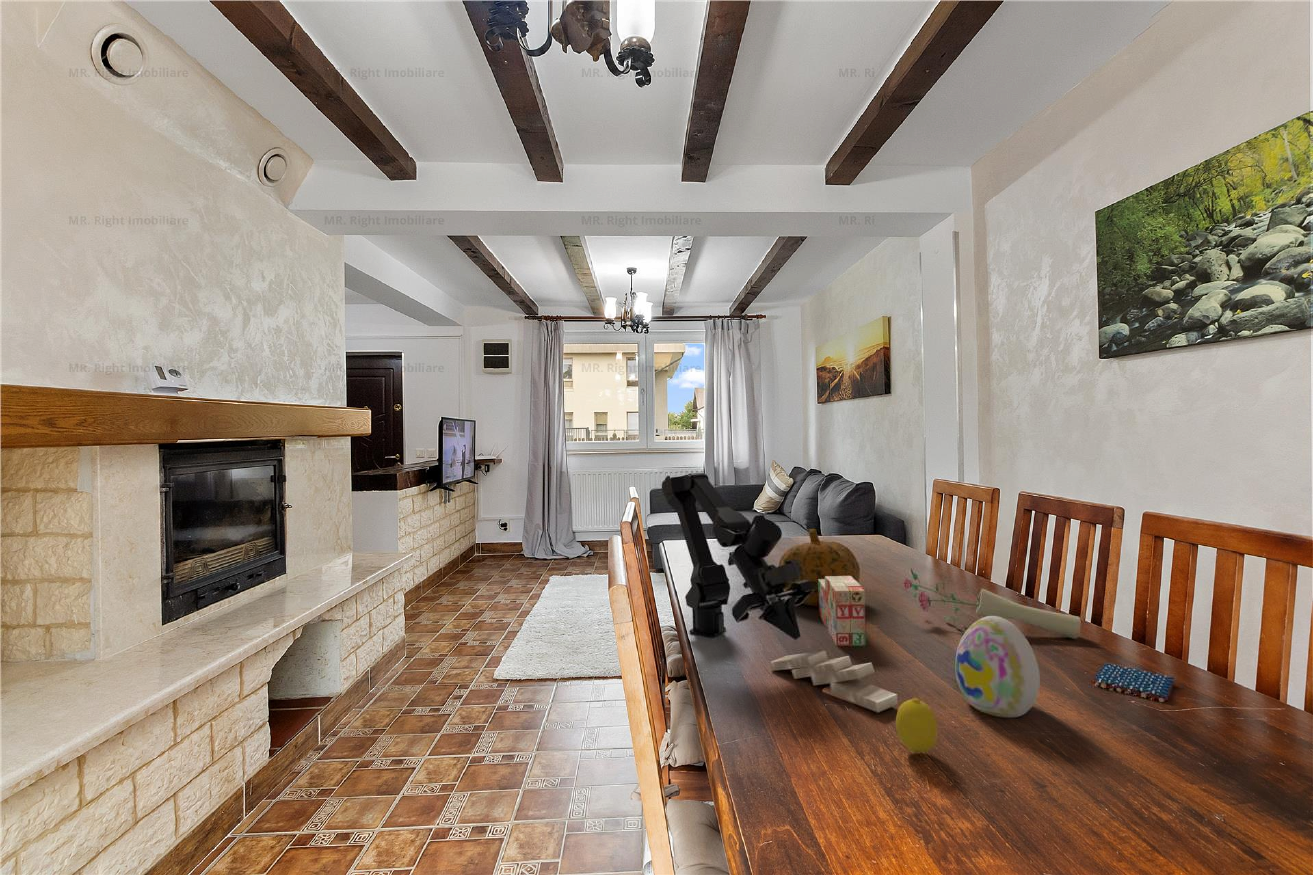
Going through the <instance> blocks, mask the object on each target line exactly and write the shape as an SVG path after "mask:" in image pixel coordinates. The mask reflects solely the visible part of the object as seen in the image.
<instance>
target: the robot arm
mask: <svg viewBox="0 0 1313 875" xmlns="http://www.w3.org/2000/svg"><path fill="white" fill-rule="evenodd" d="M661 491H662V494H663V495H664V497H665V499H666V500H665V501H666V502H667V504H668V505H669V507H671V508H672V509H673V510H674V511H675V512H676V513H677V517H678V520H679V523H680V527H681V530H682V534H683V537H684V540H685V544H686V547H687V550H688V555H689V557H690V560H691V563H692V567H693V568H692V572H691V576H690V585H691V587H690V588H689V590H688V592H686V594H685V596H684V598H685V603H686V606H687V607H689V608H691V609H692V610H691V612H692V613H691V614H692V628H691V629H689V633H690V634H693V635H694V634H695V635H699V636H704V637H709V638H714V637H716V636H718V635H719V634H720V633H722V632H725V631H726V630H727V627H726V626H725V616H724V615H725V614H724V611H723V606H724V605H725V606H727V605H728V602H729V597H730V594H731V593H730V592H731V583H730V579H729V577H728V575H727V571H726V568H725V566H724V565H723V564H718V563H717V562H716V561H714V559H713V556H712V553H711V552H712V551H711V549H710V546H709V543H708V540H707V536H706V533H705V530H704V527H703V524H702V521H701V517H700V514H699V512H698V511H699V510H698V508H697V502H698V504H699V505H700V507H701V508H702V510H704V512H705V514H706V515H707V516H708V517H709V519H710V520H711V522H712V533H713V535H714V537H715V539H716V541H717V543H718V544H719V545H720V546H721V547H722V548H731V547H735V549H734V550H733V551H730V552H729V553H728V555H729V556H728V558H727V566H730V567H731V566H734V565H735V566H736V568H737V569H738V571H739V572H740V574H741V576H742V577H743V580H744V582H743V583H742V586H743V587H744V589H750V591H751V593H746V594H743V595H742V596H741V597H740V598H738V600H737V602H736V603H735V604H734V605H733V607H731V615H732V617H733V618H734V620H735V622H736V623H741V622H744V621H748V619H749V616H750V613H749V612H753V611H756V610H759V611H760V613H761V614H760V616H759V617H758V619H759V620H760V621H765V622H766V623H768V624H770V625H771V626H774V628H776V629H779V630H780V631H781V632H783V633H784V634H786V635H787V636H789V637H790V638H792V639H793V640H795V641H796V640H799V639H800V637H801V633H800V628H799V624H798V621H797V616H796V611H795V610H796V609H795V607H796V606H800V605H801V603H803V602H804V601H805V600H806V599H807V598H808V597H809V596H810V594H811V593H812V592H813V591H814V590H815V588H814V586H813V585H812V583H811V582H810V581H809V580H802V581H798V582H794V583H793V584H792V585H791V586H790V587H789V588H788V590H787V591H785V590H784V588H786V587H787V586H788V585H789V583H788V582H789V581H791V580H794V579H800V575H799V574H801V573H802V572H803V569H802V566H801V564H800V563H799V562H798V561H797V559H796V558H795V559H791V560H789V561H786V562H785V565H782V566H779V565H778V566H776V565H775V564H770V565H769V564H768V563H767V560H766V559H765V558H766V557H768V556H769V555H770V553H771V552H772V551H773V550H774V548H775V547H776V545H777V544H778V543H779V541H780V540H781V538H782V536H783V533H782V532H783V531H782V529H781V527H780V526H779V525H778V524H777V523H775V522H774V521H772V520H770V519H768V518H766V517H765V515H764V514H758V515H754V517H753V519H752V521H750V520H749V519H748V518H747V517H746V516H744V514H742V513H741V512H739V511H736V510H734V509H732V508H731V507H730V506H729V505H728V503H727V502H726V501H725V500H724V498H723V497H722V496H721V495H720V493H719V492H718V491H717V489H716V488H715V487H714V485H713V484H712V483H711V481H710V480H709V476H708V474H706V473H705V472H691V473H689V472H688V473H687V474H676V475H674V474H673V475H667V476H665V478H664V480H662V482H661Z"/></svg>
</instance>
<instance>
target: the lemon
mask: <svg viewBox="0 0 1313 875" xmlns="http://www.w3.org/2000/svg"><path fill="white" fill-rule="evenodd" d="M895 730H896V733H897V737H898V739H899V740H900V742H901V743H902V744H903V745H904V746H905V747H906V748H908V749H909V750H911V751H912V752H913V753H914V754H916V755H920V754H921V753H924V752H927V751H929V750H931V749H932V748H933V747H934V746H935V744H936V742H937V738H938V731H939V729H938V722H937V719H936V715H935V713H934V711H933V709H932V708H931V707H930V706H929V705H928V704H927V703H926V702H924V701H922V700H920V699H919V698H916V697H913V698H911V699H908V700H906V701H904V702H903V703H901V704H900V706H899V707H898V709H897V713H896V718H895Z"/></svg>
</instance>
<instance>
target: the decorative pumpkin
mask: <svg viewBox="0 0 1313 875" xmlns="http://www.w3.org/2000/svg"><path fill="white" fill-rule="evenodd" d="M808 534H809V538H810V539H809V540H810V542H804V543H802V544H797V545H794V546H791V547H790V548H788V549H787V550H786V551H785V552H784V553H783V554H782V555H781V556H780V558H779V562H778V567H779V566H782V565H785V562H786V561H789V560H791V559H795V558H796V559H797V561H798V562H799V563H800V564H801V566H802V569H803V572H802V573H801V574H799V575H800V579H794V580H791V581H789V582H788V583H789V585H788V586H787V587H786V588H784V591H787V590H788V588H789V587H790V586H791V585H792V584H793V583H794V582H798V581H802V580H809V581H810V582H811V583H812V585H813V586H814V588H815V590H814V591H813V592H812V593H811V594H810V596H809V597H808V598H807V599H806V600H805V601H804V602H803V603H801V604H802V605H806V606H811V607H819V591H818V579H825V576H851V577H852V578H853V579H854V580H856V581H857V582H858V583H859V582H860V576H861V572H860V569H861V568H860V565H859V562H858V561H857V557H856V556H855V555H854V552H852V550H851V549H849V548H848V547H847V546H846V545H844V544H842V543H839V542H836V541H826V540H820V539H819V536H818V532H817V529H815V528H811V529H809V530H808ZM859 584H860V583H859ZM801 604H800V605H801Z"/></svg>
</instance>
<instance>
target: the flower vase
mask: <svg viewBox="0 0 1313 875" xmlns="http://www.w3.org/2000/svg"><path fill="white" fill-rule="evenodd" d="M910 572H911V575H912V578H913V580H914V581H917V580H918V583H919V584H921V582H920V581H921V580H920V579H919V577H918V574H916V573H914V571H913V569H912V567H910ZM919 584H913V582H912V580H911V579H909V578H908V577H906V578H905V579H904V581H903V585H902V586H903V588H905V590H906V591H908V590H909V589H910V590H911V589H913V590H914V591H915V592H914V595H913V598H916V597H917V595H918V602H919V603H920V604H919V606H920V607H921V609H922V610H924V612H925V613H927V612H929V610H930V608H931V609H933V608H932V605H931V602H943V604H945V603H953V606H952V610H954V611H953V613H952V616H951V615H950V614H948V615H947V617H946V620H945V623H947V622H948V621H949V620H950V619H951V618H952V617H953V624H954V627H955V628H957V626H956V623H957V621H958V620H959V618H960V617H962V616H964V615H965V613H962V614H960V615H959V616H958V617H957V618H956V616H957V613H958V611H961V610H967V608H962V607H963V606H965V605H967V606H974V607H973V608H970V611H969V612H967V613H966V615H968V614H970V613H971V611H972V610H974V609H975V608H976V609H975V610H976V611H975V615H976V616H984V617H987V616H998V617H1001V618H1004V619H1006V620H1007V619H1009V620H1013V621H1014V620H1016V621H1019V622H1022V623H1025V624H1030V625H1032V626H1036V627H1039V628H1042V629H1045V630H1047V631H1051V632H1054V633H1056V634H1059V635H1062V636H1063V637H1067V638H1069V639H1072V640H1076V639H1077V638H1078V637H1079V634H1080V631H1081V627H1082V626H1081V624H1082V622H1081V617H1080V616H1077V615H1071V614H1065V613H1061V612H1053V611H1050V610H1045V609H1039V608H1036V607H1033V606H1027V605H1024V604H1020V603H1017V602H1016V601H1012V600H1010V599H1008V598H1005V597H1004V596H1001V595H998V594H996V593H994V592H992V591H989V590H987V589H985V588H981V590H980V592H979V594H978V596H977V599H976V604H975V603H969V602H965V601H963V600H960V598H958V596H956V595H955V594H953V593H952V592H950V596H948V595H947V594H946V591H945V588H946V587H945V585H946V581H945V580H944V582H942V589H943V591H944V594H943V593H942V592H939V591H940V590H939V583H938V582H937V583H936V584H935V585H936V586H935V590H936V591H935V590H933V589H931V588H928V587H925V586H922V585H919ZM919 587H920V588H923V589H925V590H920V589H919ZM907 589H908V590H907ZM918 590H919V591H920V592H919V593H917V592H916V591H918ZM927 591H930V592H931V591H932V592H934V593H936V594H939V595H941V596H943V597H945V598H946V599H944V598H941V599H940V600H939V599H931V598H930V596H929V594H928V593H926V592H927ZM949 598H950V599H949ZM956 604H960V605H962V606H960V607H959V608H958V607H956ZM960 608H961V609H960ZM955 619H956V620H955Z"/></svg>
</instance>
